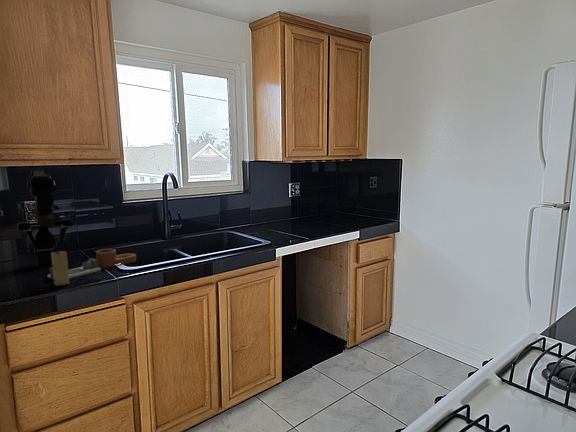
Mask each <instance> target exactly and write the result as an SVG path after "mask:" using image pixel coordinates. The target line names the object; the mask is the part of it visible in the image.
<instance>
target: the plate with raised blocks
mask: <svg viewBox="0 0 576 432" xmlns="http://www.w3.org/2000/svg"><path fill="white" fill-rule="evenodd" d="M101 271H102V268H99V267H98V260H97V259H96V258H88V259H87V261H84V262H82V263H81V266H80V267H76V268H72V269H68V272H69V279H72V278H73V279H74V278H77V277H80V276H85V275H88V274H92V273H97V272H101ZM47 278H48V279H51V280H54V278H53V268H52V267H51V266H50V267H49V273H48V274H47Z"/></svg>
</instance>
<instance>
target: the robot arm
mask: <svg viewBox="0 0 576 432" xmlns="http://www.w3.org/2000/svg"><path fill="white" fill-rule="evenodd" d="M30 172H31V173H30V174H29V175H28V176H26V184H27V185H26V186H27V190H29V193H30V195H31V196H32V197H33V198H34V204H35V205H34V206H35V214H36V222H32V223H31V222H30V221H26V222H25V221H24V222H18V223H17V225H16V226H17V231H18V232H19V231H20V232H22V233H25V234H26V235H27V236H28V238H29V240H30V243H31V244H32V246H33V251H34V254H37V260H36V261H37V264H35V265H34V267H35V266H36V267H51V266H52V257H51V253H52V252H57V251H58V240H56V238H54V234H53V233H52V232H51V231H50V230H49V227H57V226H59V244H60V245H63V241H64V238H65V233H66V231H67V229H70V228H71V227H73V226H74V221H73V219H72V218H61V216H60V212H56V213H55V212H54V209H53V204H54V201H55V200H54V196H53V195H52V194H51V193H55V191H56V190H57V188H56V182H55V180H54V178H52V177H51V175H48V174H46V171H45V169H32V170H31V171H30ZM33 228H34V229H35V228H36V229H37V232H36V234H35V235H33V230H32V229H33Z"/></svg>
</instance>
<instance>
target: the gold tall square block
mask: <svg viewBox="0 0 576 432" xmlns="http://www.w3.org/2000/svg"><path fill="white" fill-rule="evenodd" d="M51 257H52V265H51V266H52V268H53V278H54V279H53V284H54V286H55V287H56V286H57V287H61V285H62V286H67V285H66V284H68V285H70V283H71V282H70V278H69V272H68V270H69V263H68V262H69V261H68V253H67V252H66V251H65V250H61V251H60V250H59V251H53V252H52V253H51Z"/></svg>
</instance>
